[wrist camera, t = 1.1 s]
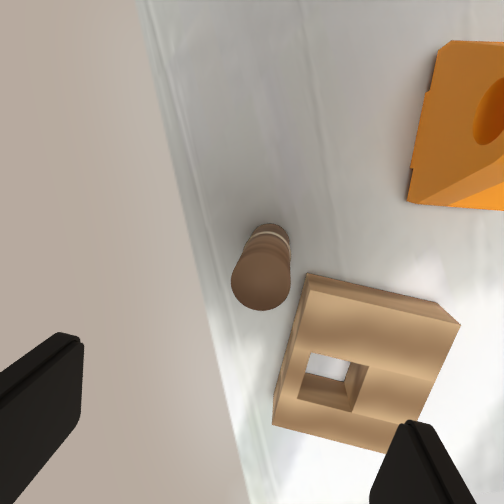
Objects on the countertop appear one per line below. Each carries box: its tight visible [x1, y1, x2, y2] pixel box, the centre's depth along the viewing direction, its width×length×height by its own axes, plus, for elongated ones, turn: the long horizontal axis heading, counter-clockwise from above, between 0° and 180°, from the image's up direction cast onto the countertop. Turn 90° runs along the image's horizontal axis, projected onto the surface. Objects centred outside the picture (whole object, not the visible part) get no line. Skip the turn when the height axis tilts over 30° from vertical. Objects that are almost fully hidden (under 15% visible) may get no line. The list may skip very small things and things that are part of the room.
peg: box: [231, 224, 291, 311], centre depth 23 cm, size 4×4×10 cm
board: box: [272, 273, 461, 454], centre depth 28 cm, size 14×12×4 cm
